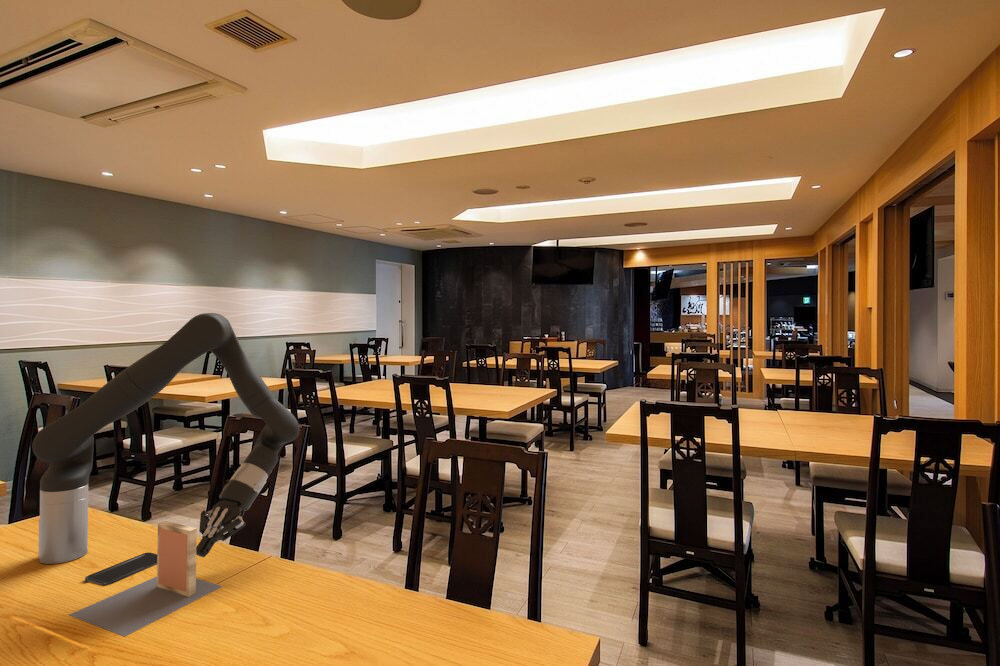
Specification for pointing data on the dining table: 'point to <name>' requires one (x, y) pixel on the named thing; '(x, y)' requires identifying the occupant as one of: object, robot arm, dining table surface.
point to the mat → (139, 606)
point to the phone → (123, 569)
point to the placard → (176, 558)
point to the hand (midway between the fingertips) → (198, 555)
